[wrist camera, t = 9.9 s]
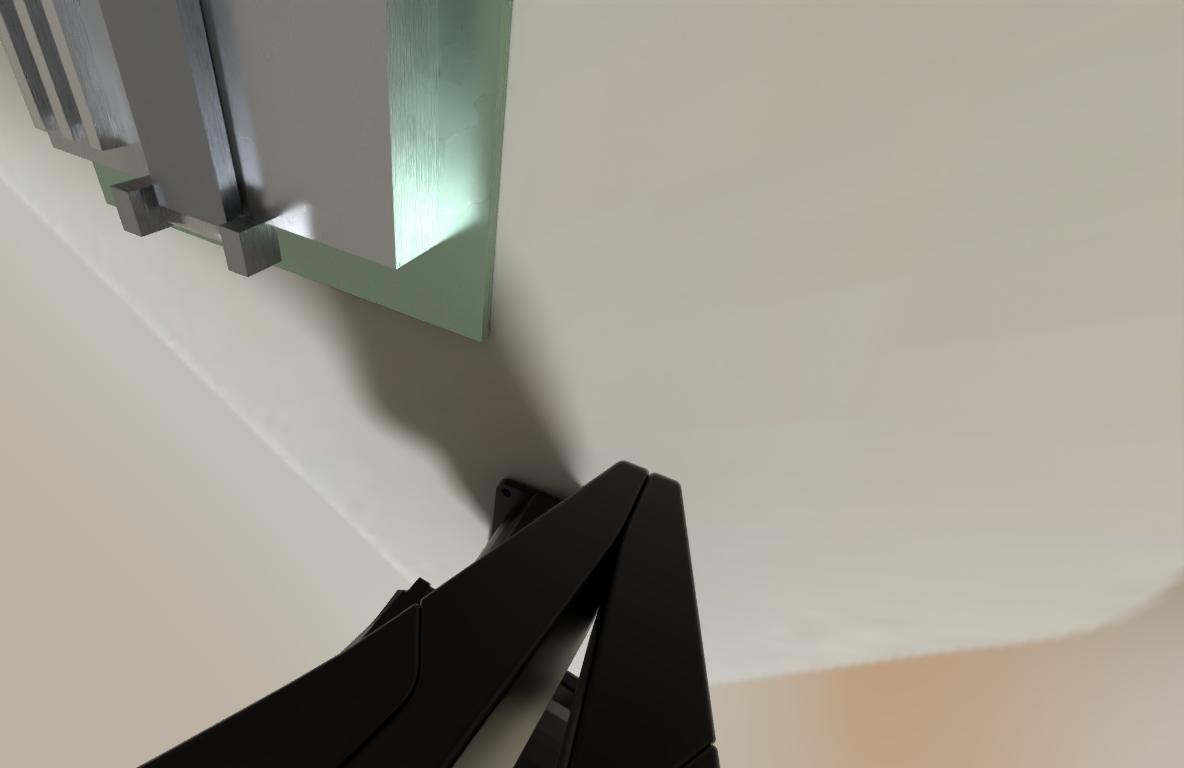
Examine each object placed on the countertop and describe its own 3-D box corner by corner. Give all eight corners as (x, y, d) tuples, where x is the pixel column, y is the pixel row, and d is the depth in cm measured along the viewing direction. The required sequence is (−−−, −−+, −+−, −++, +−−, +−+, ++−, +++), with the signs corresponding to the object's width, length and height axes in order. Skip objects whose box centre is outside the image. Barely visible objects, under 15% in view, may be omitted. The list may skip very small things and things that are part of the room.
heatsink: (488, 335, 23) (423, 397, 20) (119, 199, 27) (10, 231, 24) (544, -445, 12) (413, -620, 8) (-112, -502, 16) (-394, -641, 12)
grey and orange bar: (253, 243, 21) (225, 255, 20) (182, 217, 22) (152, 227, 21) (138, -329, 13) (81, -352, 12) (28, -345, 13) (-33, -368, 13)
